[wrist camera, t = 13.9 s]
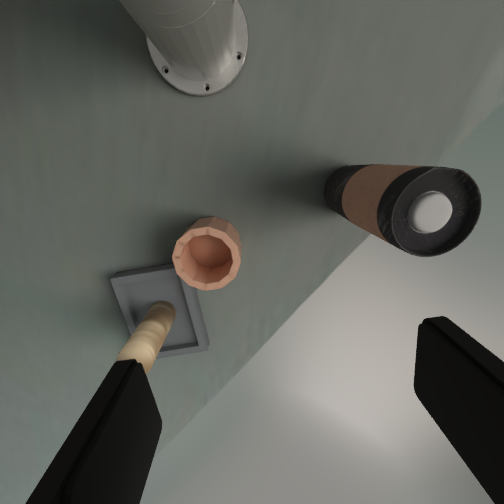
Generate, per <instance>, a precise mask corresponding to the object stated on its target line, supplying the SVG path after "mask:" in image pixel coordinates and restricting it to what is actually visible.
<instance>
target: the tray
mask: <svg viewBox="0 0 504 504" xmlns="http://www.w3.org/2000/svg"><path fill="white" fill-rule="evenodd" d="M110 281H111V284H112V286H113V289H114V292H115V294H116V297H117V300H118V302H119V305H120V308H121V310H122V313H123V316H124V319H125V321H126V324H127V327H128V329H129V332H130V335H131V336H132V334H133V333H134V331H135V330H136V328H137V327H138V325H139V324H140V323H141V321H142V320H143V318H144V317H145V315H146V314H147V312H148V311H149V309H150V308H151V307H152V305H153V304H154V303H156V302H158V301H166V302H169V303H171V304H172V305H173V306H174V307H175V309H176V313H177V314H176V318H175V320H174V322H173V324H172V326H171V328H170V330H169V332H168V334H167V336H166V338H165V340H164V342H163V345H162V347H161V349H160V351H159V353H158V355H157V357H156V359H157V358H163V357H169V356H176V355H182V354H189V353H195V352H202V351H207V350H208V345H209V339H208V335H207V331H206V327H205V323H204V319H203V316H202V312H201V308H200V304H199V300H198V297H197V293H196V289H195V287H192V286H189V285H188V284H187V283H186V282H185V281H184V280H183V279H182V278H181V277H180V276H179V275H178V274H177V273H176V270H175V266H174V263H172V264H166V265H160V266H154V267H148V268H142V269H136V270H130V271H124V272H118V273H116V274H115V275H114V276H113V277H111V278H110Z"/></svg>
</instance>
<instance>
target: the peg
mask: <svg viewBox="0 0 504 504" xmlns="http://www.w3.org/2000/svg"><path fill="white" fill-rule="evenodd" d="M176 314H177V313H176V309H175V307H174V306H173V305H172V304H171V303H169V302H166V301H158V302H156V303H154V304H153V305H152V307H151V308H150V309H149V311H148V312H147V314H146V315H145V317H144V318H143V320H142V321H141V323H140V324H139V325H138V327H137V328H136V330H135V331H134V333H133V334H132V336H131V337H130V338H129V340H128V341H127V343H126V344H125V346H124V347H123V349H122V350H121V351H120V353H119V354H118V356H117V361H120V360H128V359H136V360H137V362H138V363H139V362H140V363H142V365H143V368H144V371H145V374H147V373H148V372H149V371H150V369H151V367H152V365H153V363H154V361H155V359H156V357H157V355H158V353H159V351H160V349H161V347H162V345H163V342H164V340H165V338H166V336H167V334H168V332H169V330H170V328H171V326H172V324H173V322H174V320H175V318H176Z"/></svg>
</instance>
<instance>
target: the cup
mask: <svg viewBox="0 0 504 504" xmlns="http://www.w3.org/2000/svg"><path fill="white" fill-rule="evenodd" d="M172 259H173V262H174V266H175V270H176V273H177V274H178V275H179V276H180V277H181V278H182V279H183V280H184V281H185V282H186V283H187V284H188V285H189V286H192V287H195V288H198V289H202V290H205V291H206V290H213V289H219V288H223V287H224V286H225V285H226V284H228V283H229V282H230V281H232V280H233V279H234V278H235V276H236V274H237V271H238V269H239V266H240V263H241V242H240V237H239V233H238V232H237V230H236V229H235V228H234V227H233V226H232V225H231V224H230V222H229V221H226V220H223V219H220V218H218V217H215V216H212V217H207V218H201V219H198V220H197V221H196V222H195V223H193V224H192V225H191V226H190V227H189V228H188V229H187V230H186V231H185V232H184V233H183V234H182V236H181V237H180V238H179V239H178V240H177V242H176V245H175V249H174V252H173V255H172Z"/></svg>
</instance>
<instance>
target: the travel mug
mask: <svg viewBox="0 0 504 504" xmlns="http://www.w3.org/2000/svg"><path fill="white" fill-rule="evenodd" d="M324 192H325V199H326V202H327V204H328V205H329V206H330V208H332V209H333V210H334V211H335V212H337V213H338V214H340V215H341V216H343V217H344V218H346V219H347V220H349V221H350V222H352V223H353V224H355V225H357V226H358V227H360V228H362V229H364V230H366V231H368V232H370V233H371V234H373V235H375V236H377V237H379V238H381V239H382V240H385V241H386V242H388V243H390V244H392V245H394V246H395V247H397V248H399V249H401V250H403V251H405V252H407V253H409V254H411V255H415V256H420V257H432V256H437V255H441V254H444V253H446V252H448V251H450V250H452V249H454V248H455V247H457V246H458V245H459V244H461V243H462V242H463V241H464V240H465V239H466V238H467V237H468V236H469V234H470V233H471V232H472V230H473V229H474V227H475V225H476V223H477V221H478V219H479V215H480V211H481V194H480V191H479V188H478V186H477V184H476V182H475V181H474V180H473V179H472V177H471V176H470V175H469V174H467V173H466V172H464V171H462V170H459V169H453V168H447V167H432V166H407V165H383V164H373V165H353V166H345V167H342V168H340V169H338V170H336V171H335V172H334V173H333V174H332V175H331V176H330V177H329V179H328V180H327V182H326V185H325V191H324Z"/></svg>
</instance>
